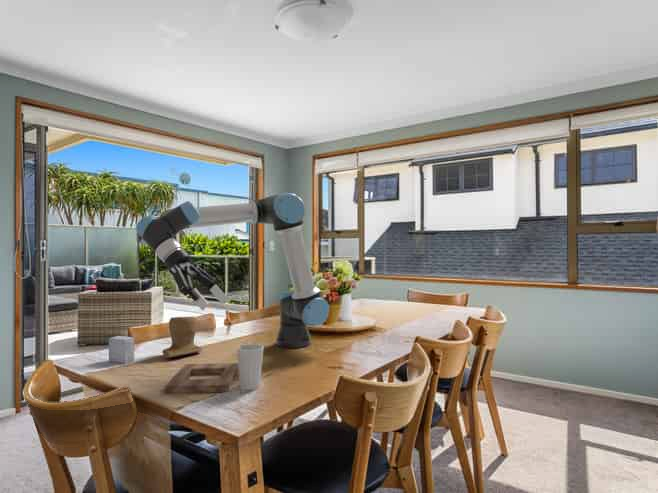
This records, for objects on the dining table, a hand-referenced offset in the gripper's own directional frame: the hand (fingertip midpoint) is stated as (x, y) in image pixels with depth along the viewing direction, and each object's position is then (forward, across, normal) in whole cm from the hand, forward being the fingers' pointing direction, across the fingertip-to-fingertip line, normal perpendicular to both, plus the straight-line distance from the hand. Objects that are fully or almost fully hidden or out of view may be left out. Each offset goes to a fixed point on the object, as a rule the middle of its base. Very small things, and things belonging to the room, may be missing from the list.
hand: (216, 304), depth 129 cm
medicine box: (-13, -13, -48) cm, 52 cm away
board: (+15, 0, -20) cm, 25 cm away
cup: (+26, +2, -8) cm, 28 cm away
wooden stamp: (-2, -26, -37) cm, 45 cm away
